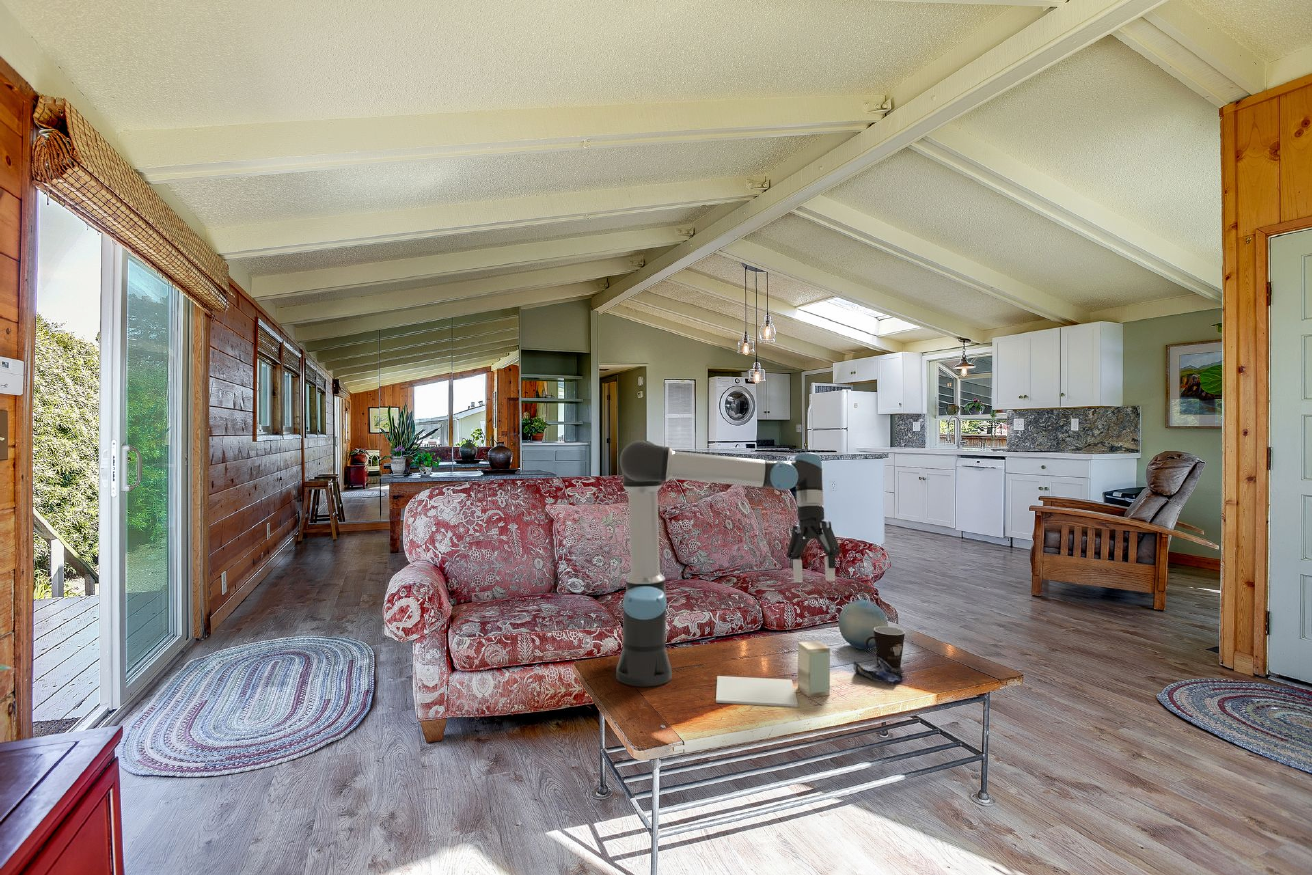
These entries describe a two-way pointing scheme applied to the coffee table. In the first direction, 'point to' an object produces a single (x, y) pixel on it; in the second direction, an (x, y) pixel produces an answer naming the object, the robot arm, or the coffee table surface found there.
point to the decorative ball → (861, 623)
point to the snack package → (880, 672)
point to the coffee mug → (888, 645)
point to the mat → (756, 691)
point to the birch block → (813, 668)
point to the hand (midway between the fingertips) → (813, 581)
